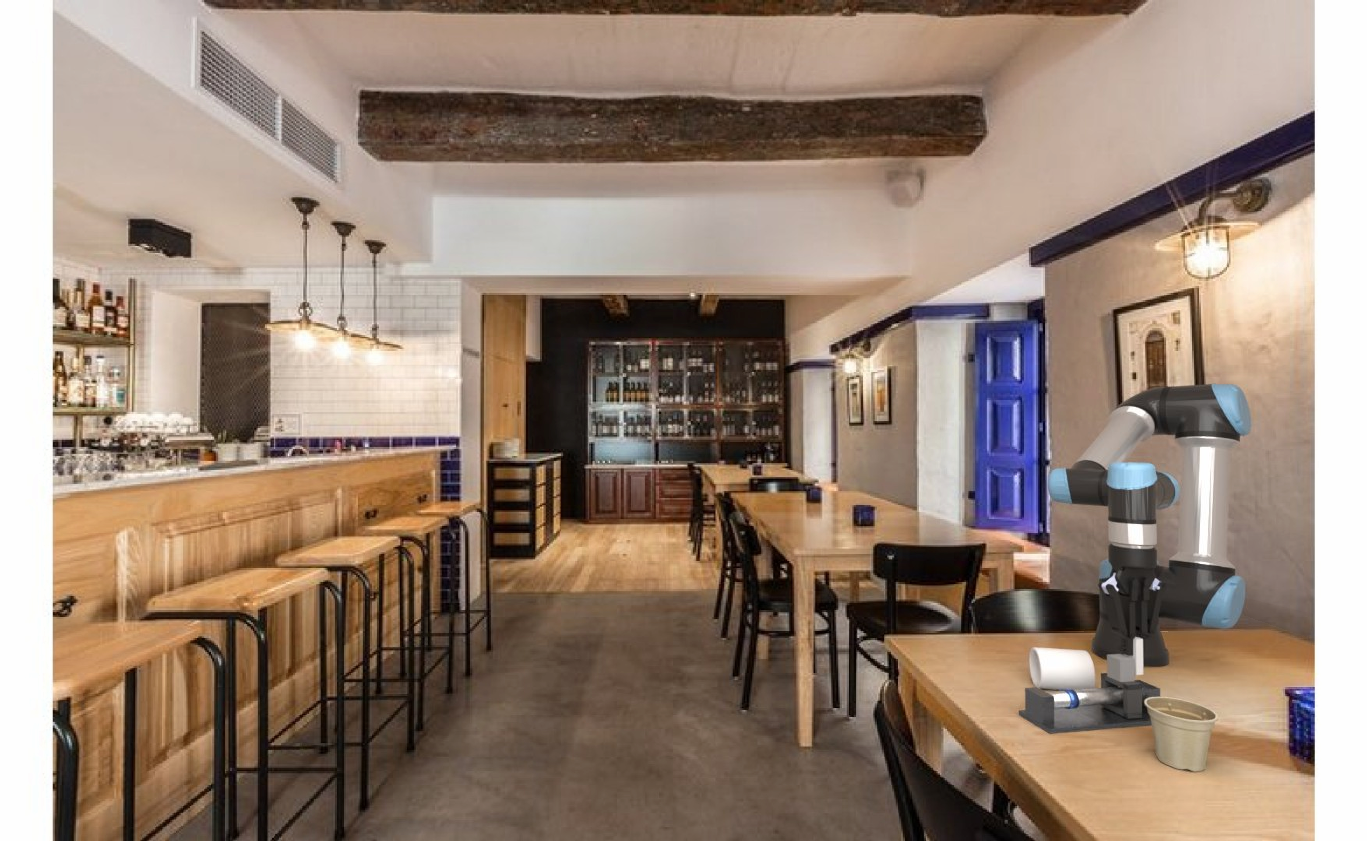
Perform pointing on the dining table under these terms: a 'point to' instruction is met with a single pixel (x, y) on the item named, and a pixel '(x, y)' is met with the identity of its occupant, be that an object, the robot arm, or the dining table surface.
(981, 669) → the dining table surface
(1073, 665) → the mug
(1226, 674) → the dining table surface
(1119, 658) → the collar
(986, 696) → the dining table surface
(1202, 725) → the flower pot
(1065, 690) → the pipe rig
